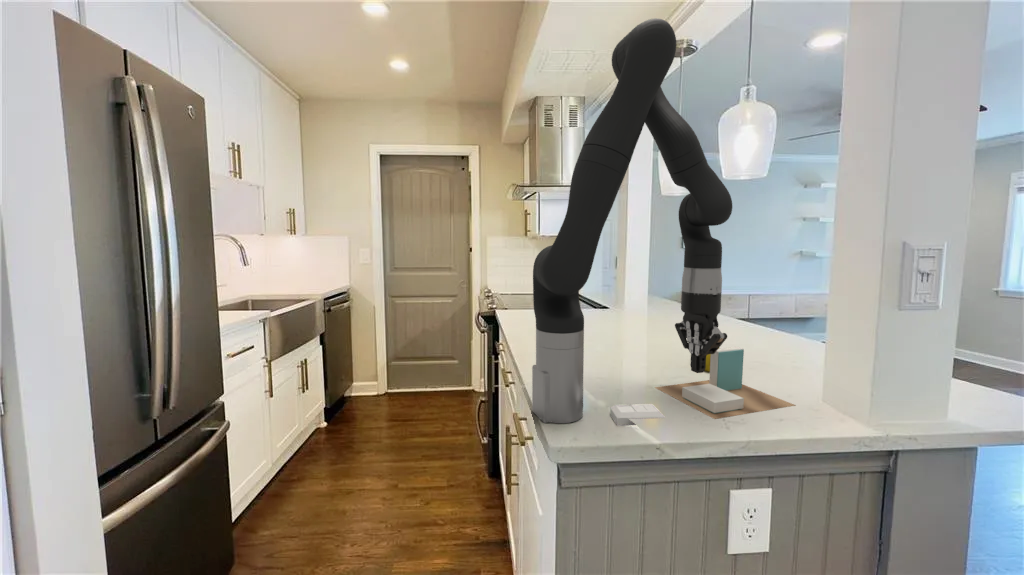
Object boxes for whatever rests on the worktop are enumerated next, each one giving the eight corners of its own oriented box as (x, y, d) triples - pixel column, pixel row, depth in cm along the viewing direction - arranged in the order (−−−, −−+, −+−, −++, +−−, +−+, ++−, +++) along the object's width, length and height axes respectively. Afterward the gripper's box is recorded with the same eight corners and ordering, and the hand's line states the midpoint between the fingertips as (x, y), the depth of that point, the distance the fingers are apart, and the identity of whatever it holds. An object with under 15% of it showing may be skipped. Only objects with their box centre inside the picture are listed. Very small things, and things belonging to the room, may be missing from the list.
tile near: (681, 397, 92) (714, 414, 83) (682, 387, 91) (714, 402, 83) (709, 393, 94) (743, 409, 85) (709, 383, 94) (743, 398, 85)
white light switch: (664, 426, 82) (665, 412, 82) (617, 427, 81) (617, 413, 81) (655, 415, 87) (655, 402, 86) (610, 416, 86) (610, 403, 86)
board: (714, 425, 81) (714, 418, 81) (654, 392, 98) (654, 387, 98) (795, 411, 87) (795, 405, 87) (725, 382, 104) (725, 377, 104)
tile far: (716, 392, 94) (718, 351, 93) (709, 389, 97) (710, 349, 95) (742, 388, 97) (744, 349, 96) (734, 385, 99) (736, 346, 98)
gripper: (665, 287, 95) (662, 365, 97) (710, 294, 82) (706, 383, 84) (693, 285, 97) (690, 361, 99) (741, 292, 85) (737, 379, 87)
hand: (697, 371), depth 92 cm, fingers closed
